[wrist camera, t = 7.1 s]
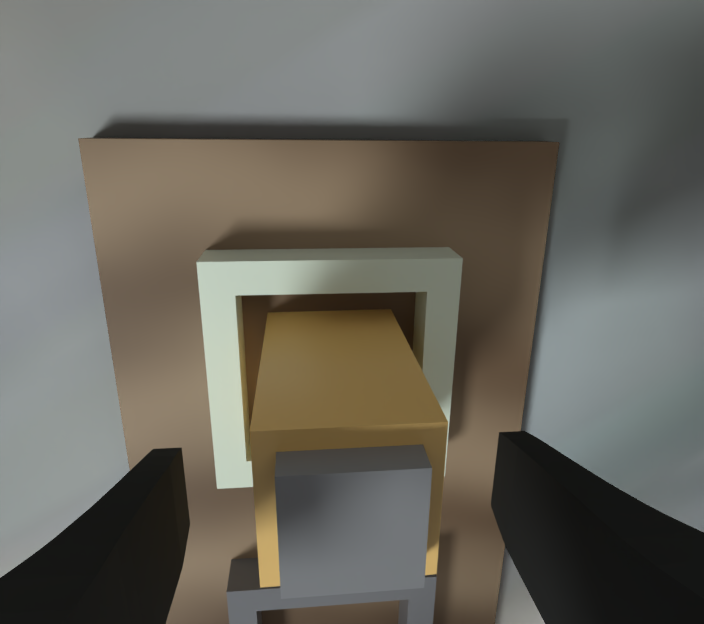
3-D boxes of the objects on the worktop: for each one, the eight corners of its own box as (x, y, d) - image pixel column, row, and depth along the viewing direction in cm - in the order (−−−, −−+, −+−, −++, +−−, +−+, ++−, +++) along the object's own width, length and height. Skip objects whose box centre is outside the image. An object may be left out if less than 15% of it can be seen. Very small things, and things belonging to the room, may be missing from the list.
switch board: (474, 702, 26) (481, 724, 25) (178, 731, 24) (174, 755, 23) (544, 141, 17) (559, 142, 16) (91, 137, 16) (78, 138, 15)
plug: (387, 415, 19) (445, 603, 11) (273, 421, 18) (257, 619, 11) (390, 309, 17) (459, 444, 10) (267, 312, 17) (245, 455, 10)
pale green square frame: (434, 450, 19) (444, 476, 18) (223, 461, 19) (217, 488, 17) (449, 247, 17) (462, 258, 15) (205, 250, 16) (196, 262, 15)
